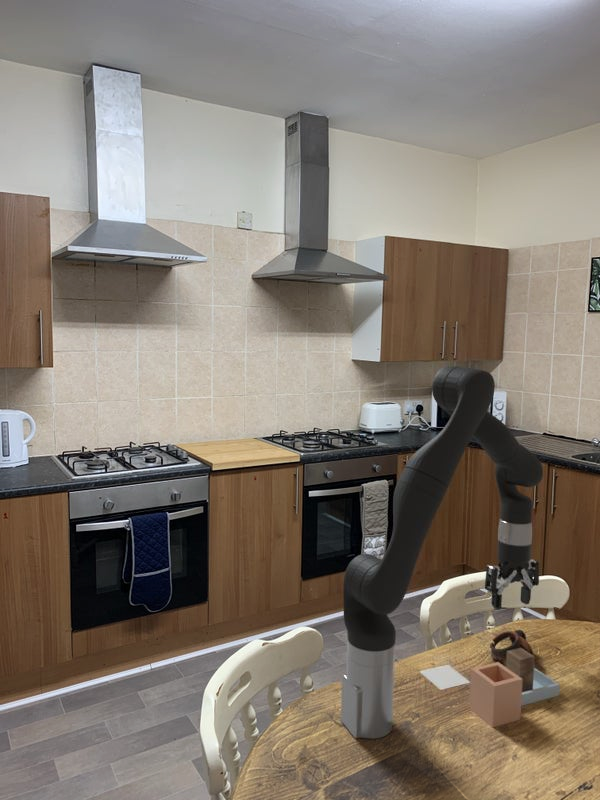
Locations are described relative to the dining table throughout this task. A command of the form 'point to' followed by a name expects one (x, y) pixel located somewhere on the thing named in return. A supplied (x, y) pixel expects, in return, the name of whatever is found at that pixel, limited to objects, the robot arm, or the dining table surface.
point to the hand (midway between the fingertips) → (510, 605)
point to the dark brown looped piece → (517, 642)
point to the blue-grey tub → (540, 689)
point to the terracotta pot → (495, 694)
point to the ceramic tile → (444, 677)
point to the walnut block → (521, 666)
